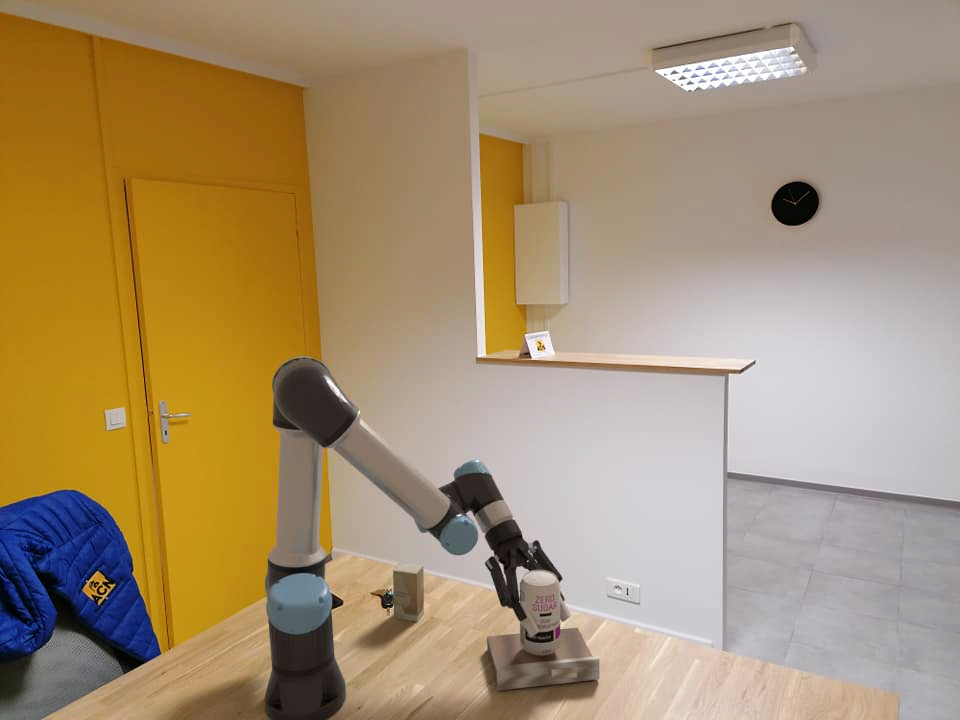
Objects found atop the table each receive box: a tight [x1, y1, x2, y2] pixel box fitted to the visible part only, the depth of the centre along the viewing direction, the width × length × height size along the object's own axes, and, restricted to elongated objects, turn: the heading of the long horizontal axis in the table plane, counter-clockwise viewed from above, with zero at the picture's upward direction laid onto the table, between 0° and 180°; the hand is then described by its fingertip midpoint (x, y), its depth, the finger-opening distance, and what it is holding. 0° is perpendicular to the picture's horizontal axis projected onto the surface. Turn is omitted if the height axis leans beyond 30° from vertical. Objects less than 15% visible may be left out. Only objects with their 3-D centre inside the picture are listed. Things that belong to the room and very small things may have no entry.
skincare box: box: [392, 562, 425, 622], centre depth 164 cm, size 6×4×12 cm
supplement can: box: [519, 570, 561, 656], centre depth 142 cm, size 8×8×15 cm
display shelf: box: [486, 627, 600, 691], centre depth 144 cm, size 20×15×5 cm
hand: (551, 626), depth 140 cm, fingers closed on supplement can, 8 cm apart
